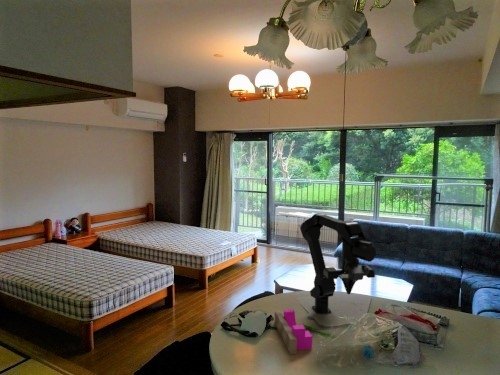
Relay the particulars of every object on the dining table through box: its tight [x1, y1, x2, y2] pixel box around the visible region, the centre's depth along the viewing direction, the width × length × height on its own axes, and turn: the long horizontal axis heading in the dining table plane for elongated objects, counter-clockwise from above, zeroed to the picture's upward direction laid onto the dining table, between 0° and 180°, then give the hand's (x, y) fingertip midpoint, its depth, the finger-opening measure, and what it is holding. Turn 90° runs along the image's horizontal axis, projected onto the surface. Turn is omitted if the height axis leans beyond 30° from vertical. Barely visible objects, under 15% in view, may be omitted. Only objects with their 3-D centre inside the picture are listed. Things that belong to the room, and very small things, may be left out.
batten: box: [274, 310, 297, 355], centre depth 123 cm, size 22×2×5 cm, turn 10°
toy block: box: [283, 309, 313, 350], centre depth 123 cm, size 15×6×8 cm, turn 8°
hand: (348, 293), depth 131 cm, fingers closed
